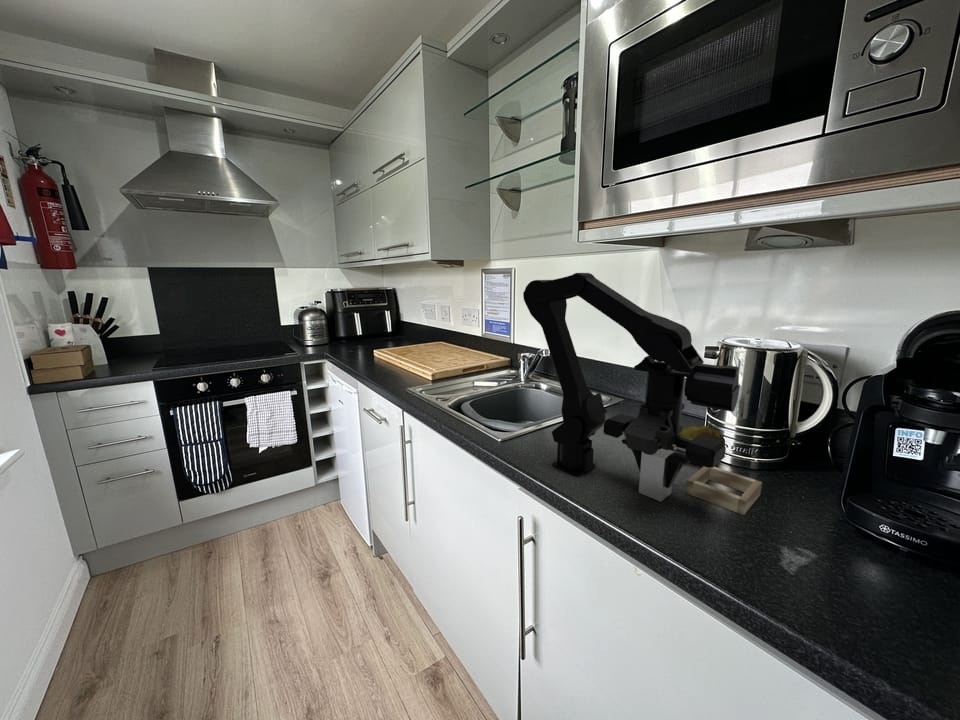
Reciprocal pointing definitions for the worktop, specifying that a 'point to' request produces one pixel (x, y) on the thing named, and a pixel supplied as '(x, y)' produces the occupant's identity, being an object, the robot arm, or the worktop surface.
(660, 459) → the brushed grey square prism
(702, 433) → the potato
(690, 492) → the frame
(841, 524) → the worktop surface
